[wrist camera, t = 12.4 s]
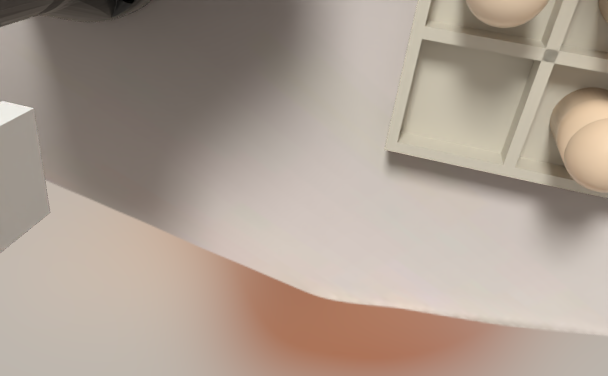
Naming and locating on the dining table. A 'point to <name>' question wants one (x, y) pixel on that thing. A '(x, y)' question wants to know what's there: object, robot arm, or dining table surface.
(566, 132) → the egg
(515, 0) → the beige domed cylinder
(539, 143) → the egg tray
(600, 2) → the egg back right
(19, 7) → the robot arm
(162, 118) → the dining table surface
